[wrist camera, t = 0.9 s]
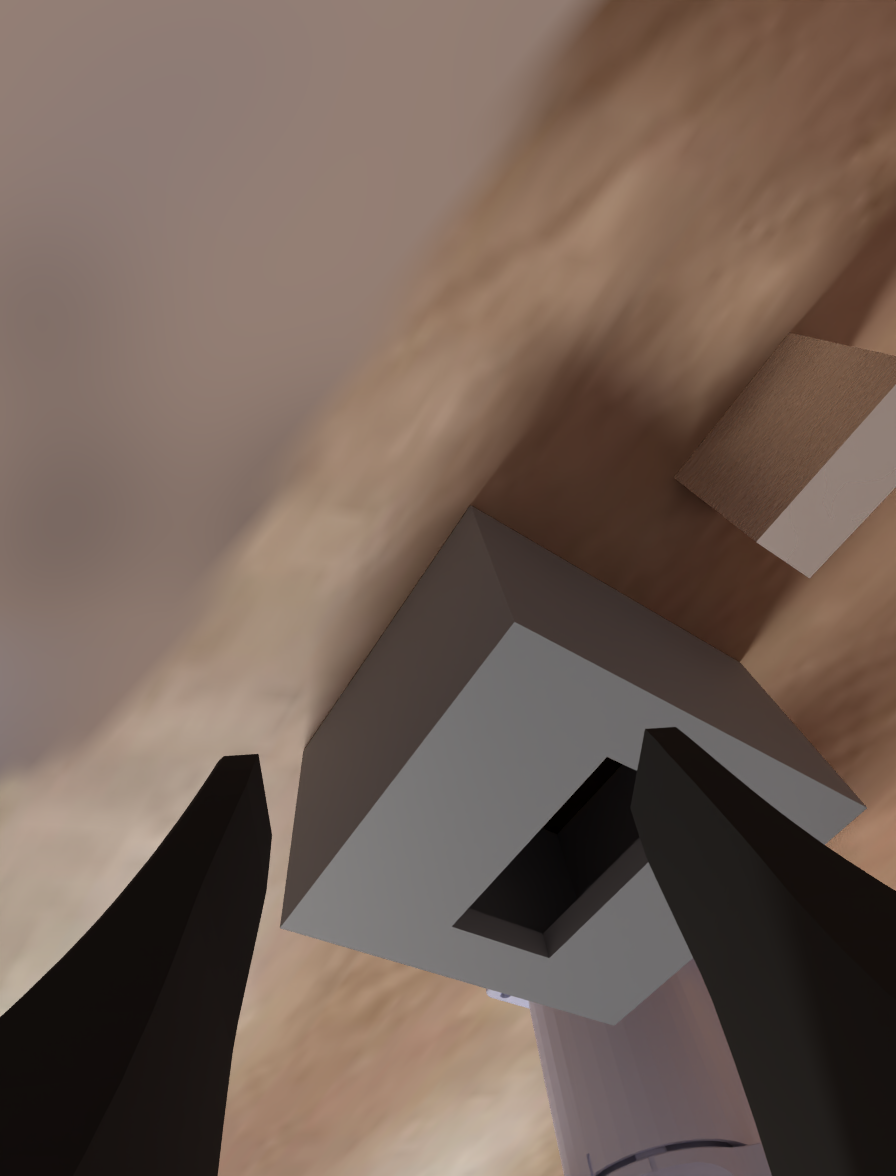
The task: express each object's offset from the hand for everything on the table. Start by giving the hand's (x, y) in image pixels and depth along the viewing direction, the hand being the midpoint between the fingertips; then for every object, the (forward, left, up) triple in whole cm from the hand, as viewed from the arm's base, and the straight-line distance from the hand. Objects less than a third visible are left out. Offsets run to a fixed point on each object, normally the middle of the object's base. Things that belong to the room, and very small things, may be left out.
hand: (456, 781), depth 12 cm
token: (-6, -9, -10) cm, 15 cm away
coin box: (-6, +3, -10) cm, 12 cm away
